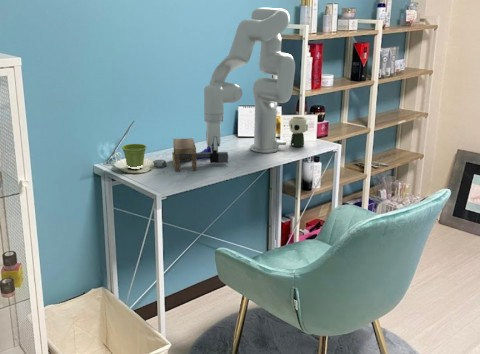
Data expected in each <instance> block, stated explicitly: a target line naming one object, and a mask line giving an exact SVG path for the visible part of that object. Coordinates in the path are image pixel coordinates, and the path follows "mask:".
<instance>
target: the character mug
mask: <svg viewBox="0 0 480 354" xmlns="http://www.w3.org/2000/svg"><path fill="white" fill-rule="evenodd" d="M307 121H308V118H307V117H305V116H299V115H298V116H291V117H290V119H289V121H288V126H289V129H290V132H291V133H292V134H291V139H290V146H293V147H302V146H305V135H304V133H305V132H308V130H309V124H308V123H307Z"/></svg>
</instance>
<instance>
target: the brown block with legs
mask: <svg viewBox="0 0 480 354" xmlns="http://www.w3.org/2000/svg"><path fill="white" fill-rule="evenodd" d="M172 141H173V152H174V153H175V158H174V165H175V166H174V167H175V170H174V171H175V172H180V162H181V161H183V162H184V161H191V169H192V172H197V159H196V153H197V147H196V143H195V141H194V138H193V137H192V138H191V137H190V138H173V139H172ZM179 154H192V158H179Z"/></svg>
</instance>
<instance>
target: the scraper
mask: <svg viewBox="0 0 480 354" xmlns="http://www.w3.org/2000/svg"><path fill="white" fill-rule="evenodd" d="M200 152H201V153H199V152H196V158H203V157H210V153H211V152H202V151H200ZM171 154H172V155H171V156H172V166H174V167H175V161H174V158H175V153H174V151H172V153H171ZM179 158H192V154H179ZM228 159H229V153H228V151H218V163H217V164H224V163H225V164H228V163H229V160H228Z"/></svg>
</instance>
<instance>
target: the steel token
mask: <svg viewBox="0 0 480 354" xmlns="http://www.w3.org/2000/svg"><path fill="white" fill-rule="evenodd" d="M152 162H153V163H154V167H153V168H155V169H162V168H166V167H167V161H166V160H165V159H154V160H153V161H152ZM153 163H152V164H153Z"/></svg>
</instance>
